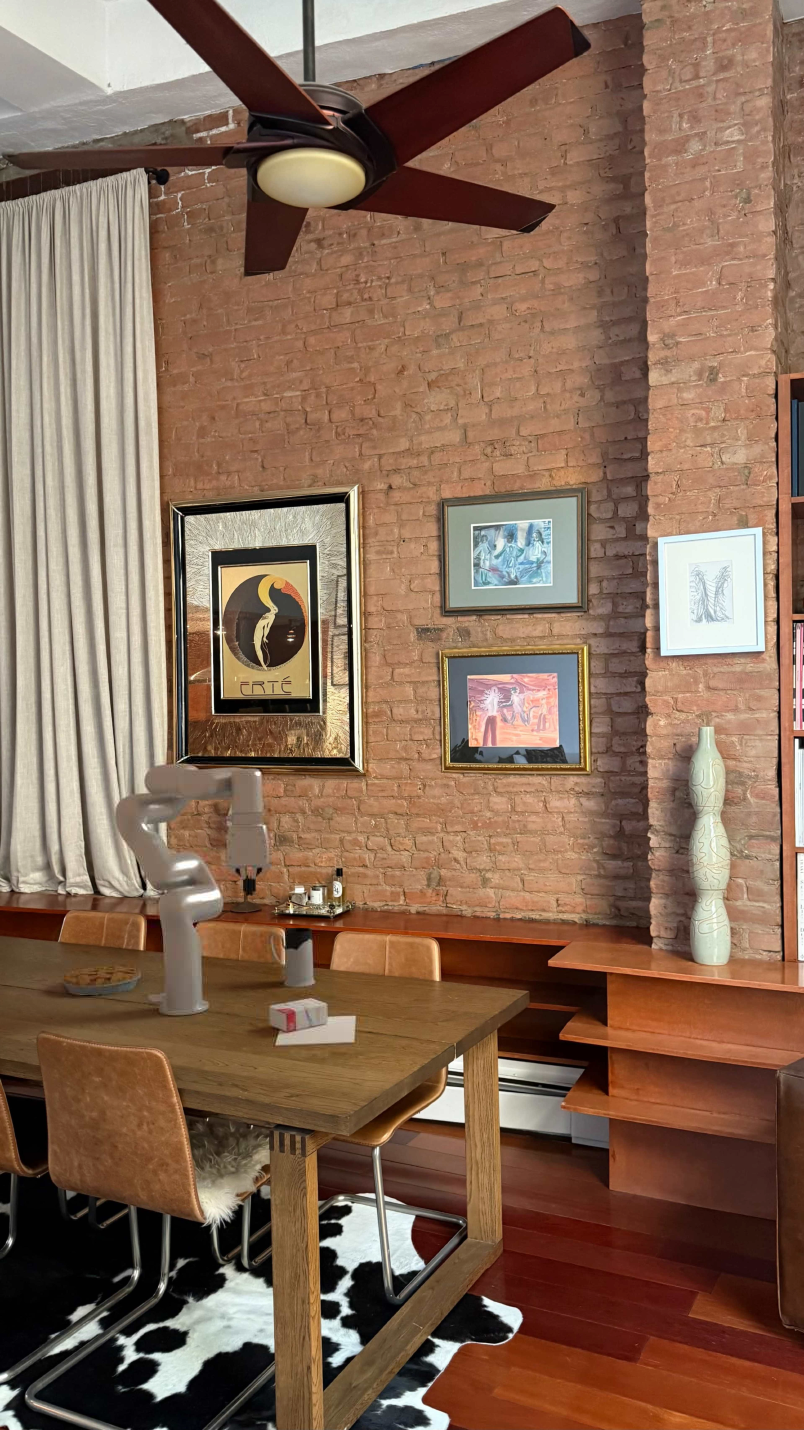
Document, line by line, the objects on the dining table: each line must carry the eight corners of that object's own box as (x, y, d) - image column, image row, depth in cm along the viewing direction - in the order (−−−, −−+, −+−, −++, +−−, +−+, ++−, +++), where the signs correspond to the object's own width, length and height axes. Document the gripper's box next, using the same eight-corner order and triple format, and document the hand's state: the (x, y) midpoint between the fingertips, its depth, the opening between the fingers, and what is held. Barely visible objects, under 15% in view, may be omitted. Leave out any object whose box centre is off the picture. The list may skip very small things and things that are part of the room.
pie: (138, 976, 325) (138, 959, 325) (145, 993, 304) (144, 975, 304) (61, 983, 318) (61, 966, 318) (62, 1001, 297) (62, 983, 297)
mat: (275, 1046, 250) (275, 1044, 250) (283, 1019, 272) (283, 1018, 272) (354, 1043, 250) (354, 1041, 250) (355, 1017, 272) (355, 1015, 272)
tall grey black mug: (302, 988, 303) (301, 934, 303) (262, 983, 311) (261, 930, 311) (321, 981, 311) (319, 928, 311) (281, 976, 318) (280, 925, 318)
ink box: (285, 1033, 258) (328, 1025, 265) (285, 1011, 258) (328, 1004, 265) (268, 1025, 266) (310, 1017, 272) (268, 1004, 266) (310, 997, 272)
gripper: (214, 822, 263) (216, 898, 263) (276, 820, 263) (279, 896, 263) (219, 819, 270) (221, 893, 270) (279, 817, 271) (281, 891, 271)
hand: (249, 894), depth 267 cm, fingers closed
